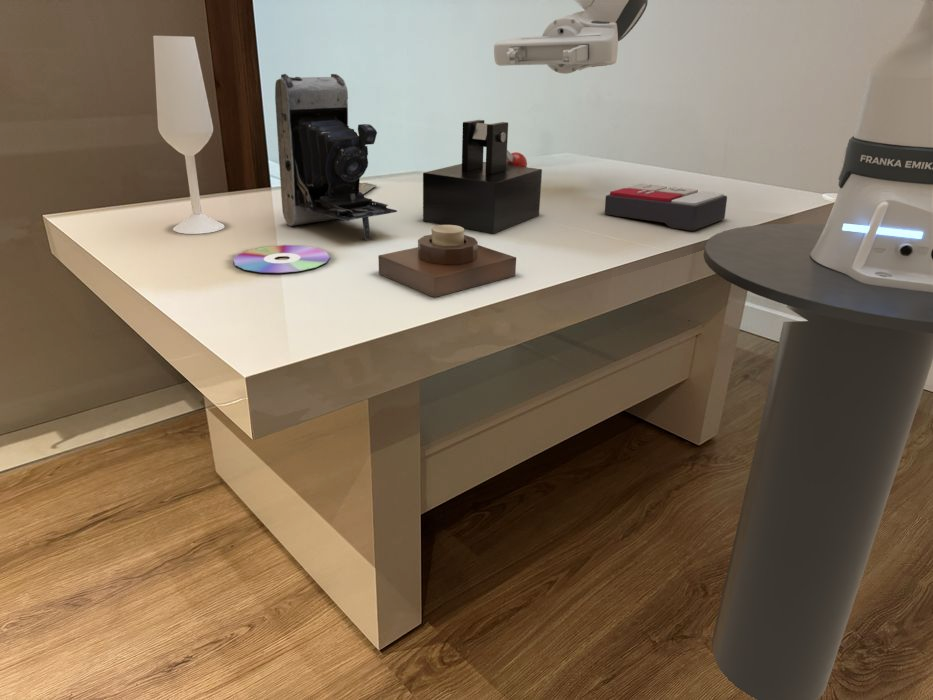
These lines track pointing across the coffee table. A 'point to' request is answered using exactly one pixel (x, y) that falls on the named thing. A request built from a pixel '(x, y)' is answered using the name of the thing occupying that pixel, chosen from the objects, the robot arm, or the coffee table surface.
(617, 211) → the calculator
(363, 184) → the map
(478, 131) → the red-knobbed metal lever
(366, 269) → the coffee table surface
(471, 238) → the block
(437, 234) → the timer button
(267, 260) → the cd
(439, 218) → the lever stand
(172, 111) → the champagne flute
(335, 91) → the vintage camera
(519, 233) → the coffee table surface
